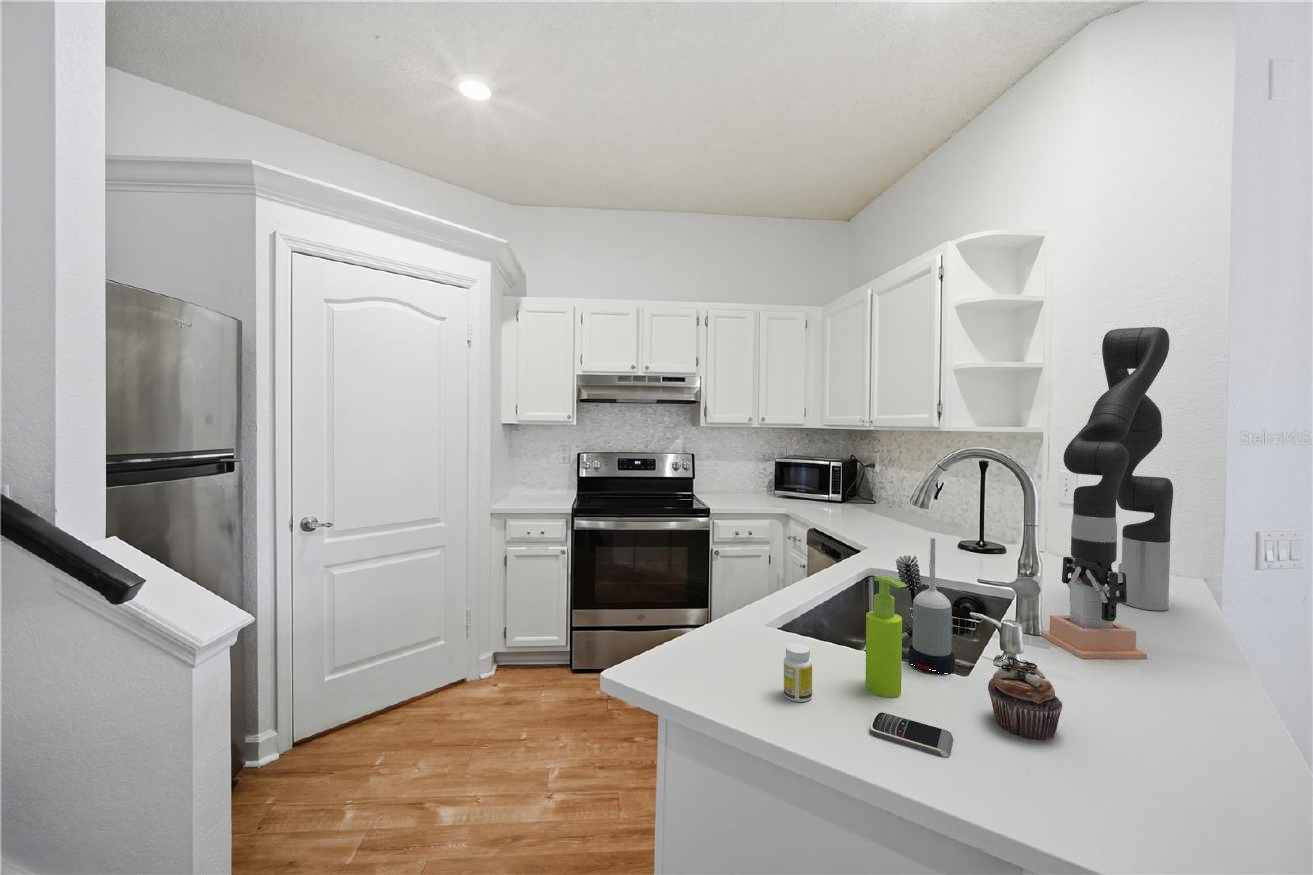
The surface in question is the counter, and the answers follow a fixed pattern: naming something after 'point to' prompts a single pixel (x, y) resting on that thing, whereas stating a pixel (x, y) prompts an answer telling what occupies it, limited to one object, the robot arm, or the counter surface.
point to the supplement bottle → (798, 673)
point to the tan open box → (1093, 640)
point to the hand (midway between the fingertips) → (1091, 613)
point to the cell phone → (912, 734)
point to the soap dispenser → (884, 642)
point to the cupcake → (1024, 700)
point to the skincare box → (1087, 607)
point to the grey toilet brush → (932, 628)
